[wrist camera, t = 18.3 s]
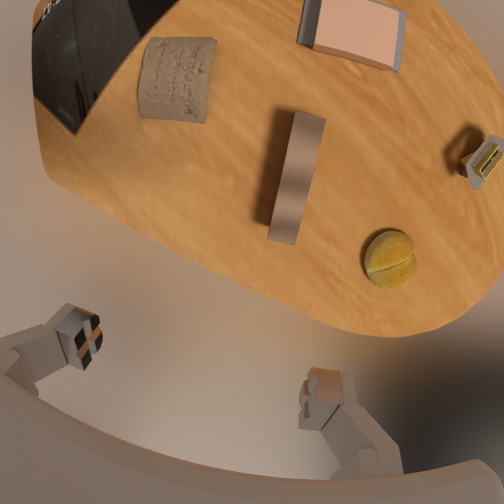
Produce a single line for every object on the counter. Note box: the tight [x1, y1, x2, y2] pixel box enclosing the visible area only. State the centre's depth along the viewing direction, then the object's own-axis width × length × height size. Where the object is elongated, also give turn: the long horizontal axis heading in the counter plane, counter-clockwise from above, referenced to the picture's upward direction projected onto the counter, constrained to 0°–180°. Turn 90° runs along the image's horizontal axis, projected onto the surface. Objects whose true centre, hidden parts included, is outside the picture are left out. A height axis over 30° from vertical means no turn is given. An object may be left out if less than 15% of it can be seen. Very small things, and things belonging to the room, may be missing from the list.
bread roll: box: [364, 231, 416, 289], centre depth 39 cm, size 8×9×4 cm
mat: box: [298, 0, 406, 73], centre depth 27 cm, size 10×14×1 cm
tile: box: [312, 0, 399, 71], centre depth 26 cm, size 3×10×9 cm
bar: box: [267, 112, 326, 245], centre depth 35 cm, size 16×4×5 cm, turn 169°
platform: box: [460, 134, 504, 190], centre depth 29 cm, size 12×18×7 cm, turn 141°
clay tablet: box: [137, 37, 217, 124], centre depth 32 cm, size 14×10×3 cm
